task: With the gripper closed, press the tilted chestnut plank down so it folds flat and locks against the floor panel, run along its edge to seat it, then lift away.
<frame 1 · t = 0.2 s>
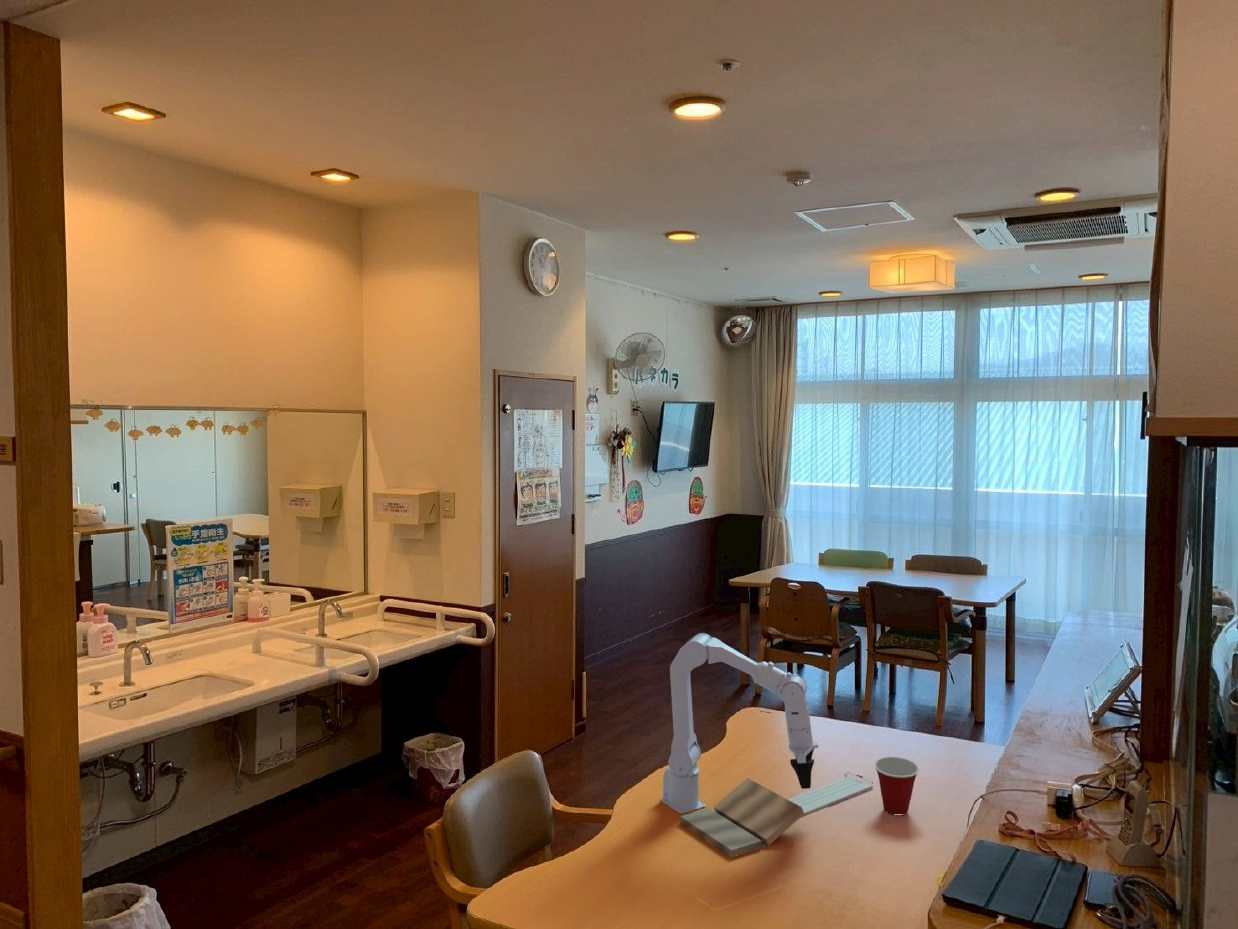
hand: (806, 782, 220), 10 cm above the table, tool pointing down, fingers open, 7 cm apart
baseboard: (821, 799, 237), on the table
plank: (757, 810, 220), point 4 cm above the table, hinge at 25.0°
plastic cup: (895, 812, 228), on the table
floor panel: (719, 836, 214), on the table
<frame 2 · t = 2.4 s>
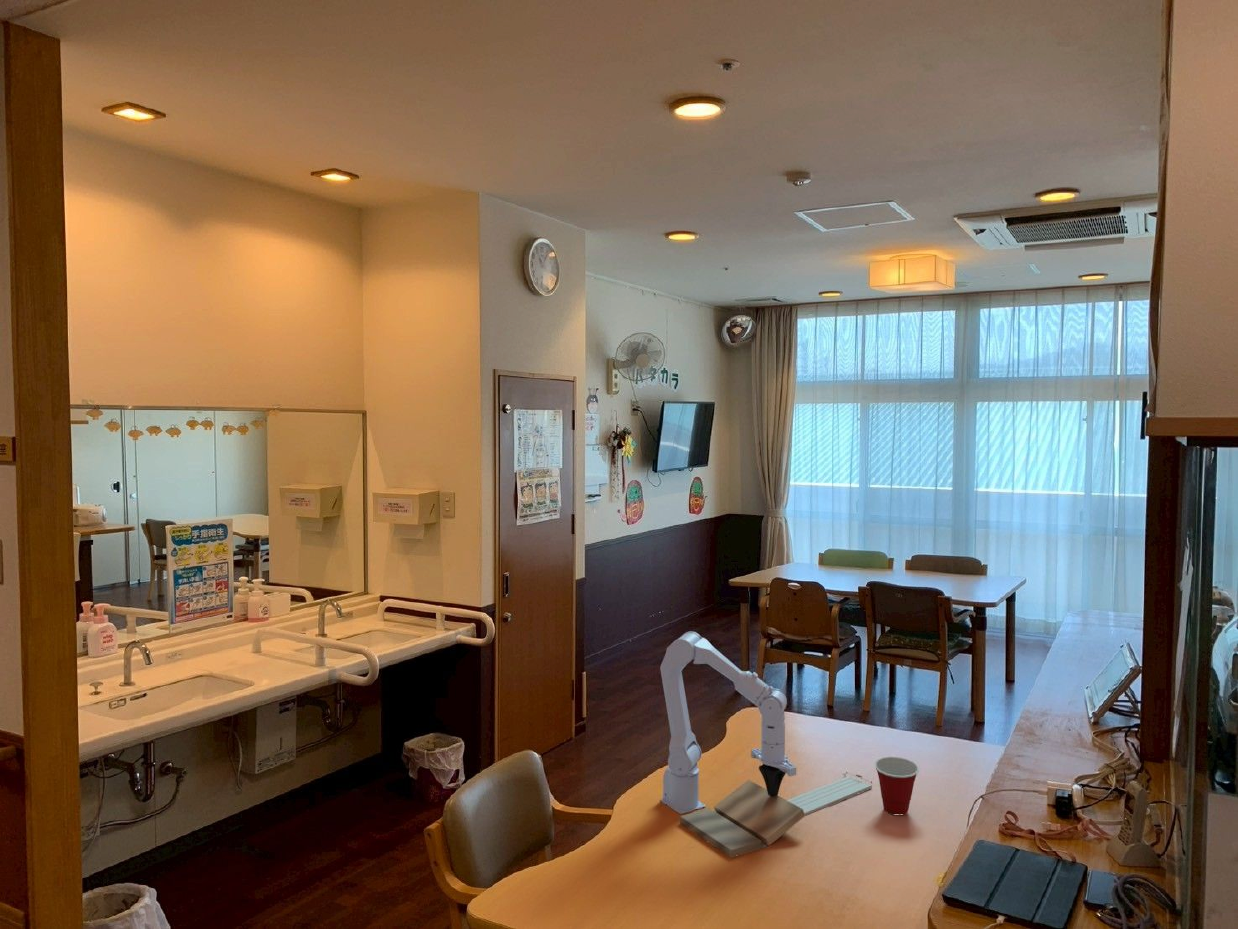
hand: (773, 795, 222), 6 cm above the table, tool pointing down, fingers closed, pressing on plank
plank: (758, 811, 220), point 3 cm above the table, hinge at 21.9°, touching gripper
everything else where it was.
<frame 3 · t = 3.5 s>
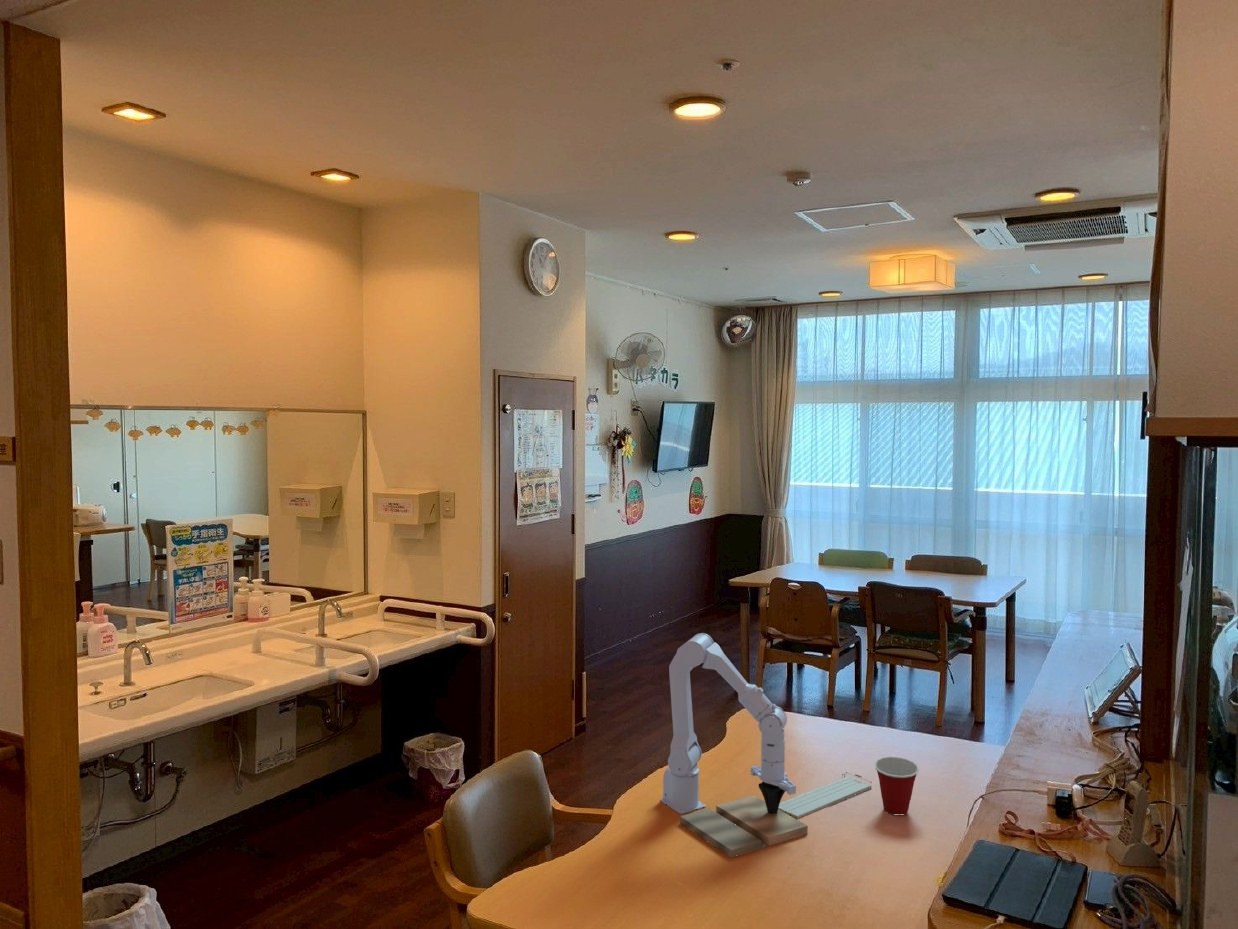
hand: (772, 812, 222), 2 cm above the table, tool pointing down, fingers closed, pressing on plank
plank: (760, 819, 221), point 1 cm above the table, hinge at -0.4°, touching gripper
everything else where it was.
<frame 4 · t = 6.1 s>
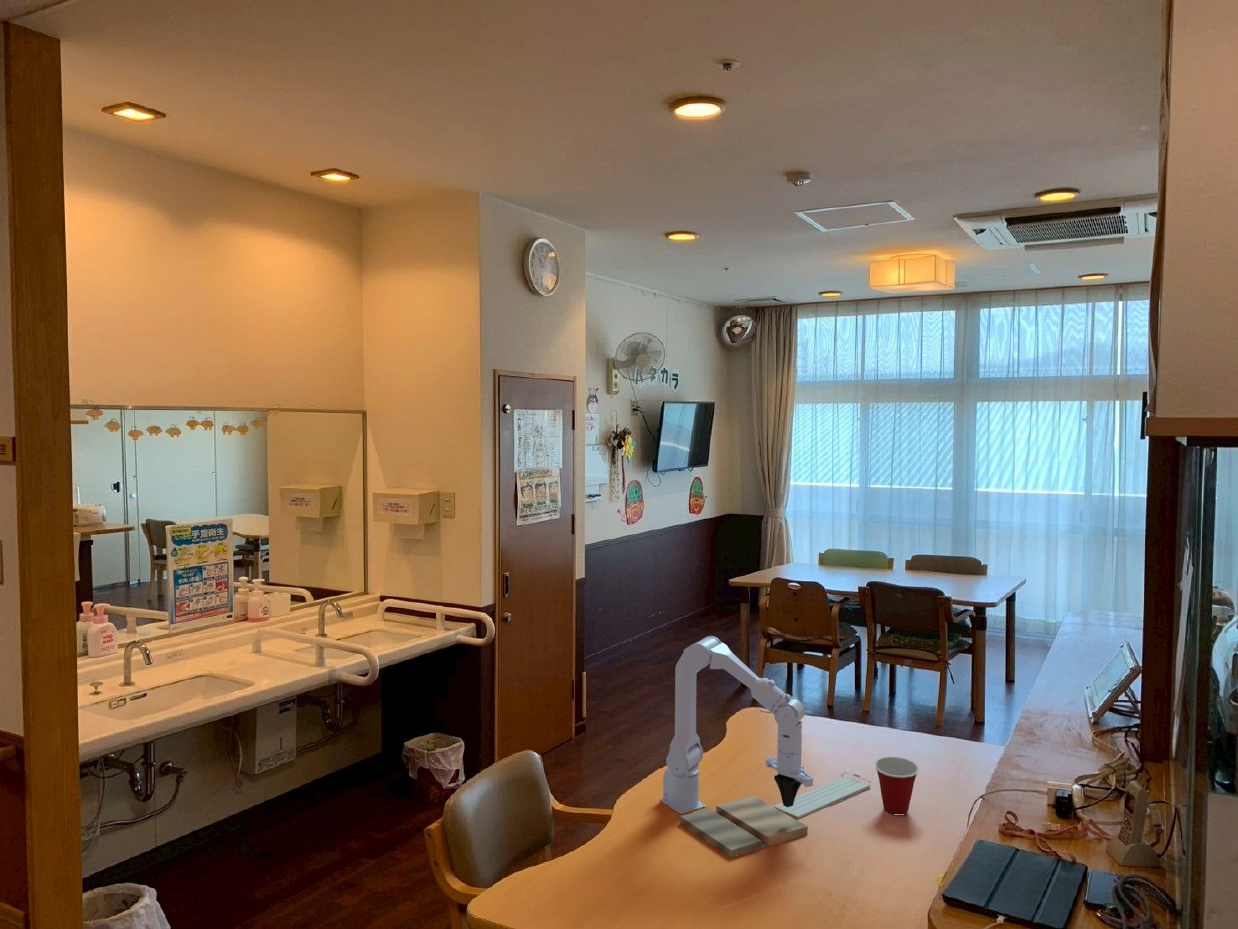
hand: (788, 805, 217), 6 cm above the table, tool pointing down, fingers closed
plank: (760, 819, 221), point 1 cm above the table, hinge at -1.1°
everything else where it was.
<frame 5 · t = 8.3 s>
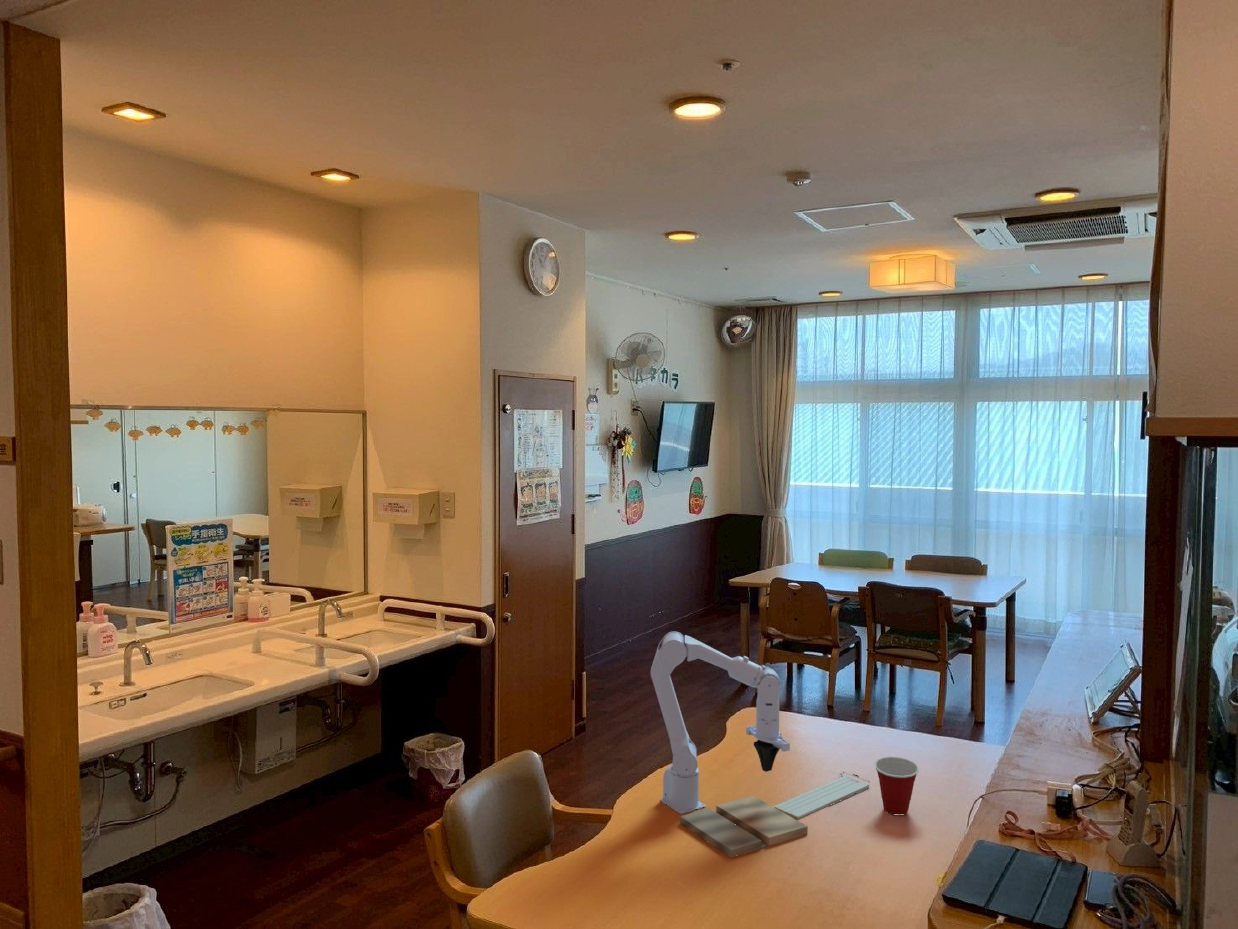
hand: (766, 770, 229), 10 cm above the table, tool pointing down, fingers closed
nothing on the table moved.
at the end: plank at -1° (first picture: +25°); baseboard moved 1.0 cm from its start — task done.
